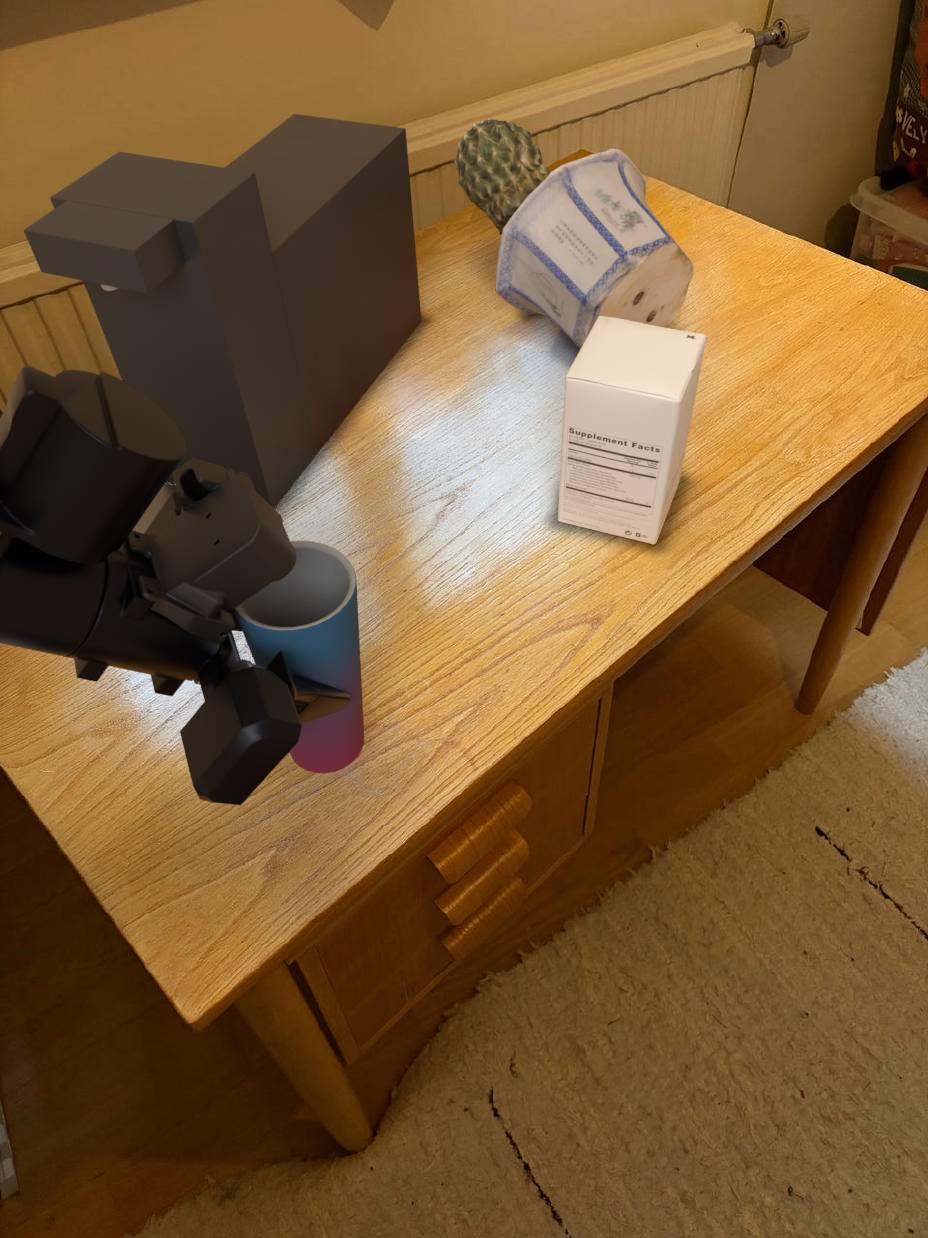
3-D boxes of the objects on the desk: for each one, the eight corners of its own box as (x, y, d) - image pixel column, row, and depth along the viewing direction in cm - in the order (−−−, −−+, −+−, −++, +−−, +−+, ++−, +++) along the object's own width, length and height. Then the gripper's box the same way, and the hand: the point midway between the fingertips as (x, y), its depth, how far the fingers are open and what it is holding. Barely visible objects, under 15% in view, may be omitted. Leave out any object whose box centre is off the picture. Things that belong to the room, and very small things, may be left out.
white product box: (585, 458, 81) (598, 310, 70) (681, 480, 79) (710, 331, 67) (553, 522, 76) (561, 374, 64) (655, 548, 73) (682, 398, 62)
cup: (328, 804, 55) (293, 650, 44) (253, 749, 58) (202, 591, 47) (398, 733, 59) (382, 574, 48) (324, 685, 62) (292, 524, 50)
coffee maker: (246, 544, 75) (153, 254, 56) (132, 511, 79) (5, 226, 59) (421, 321, 97) (399, 54, 77) (326, 302, 100) (281, 42, 80)
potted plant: (743, 207, 81) (553, 35, 91) (589, 276, 76) (406, 86, 86) (689, 345, 97) (532, 185, 107) (558, 410, 91) (406, 235, 102)
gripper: (206, 621, 33) (476, 694, 44) (130, 365, 45) (361, 473, 56) (70, 796, 38) (348, 823, 49) (32, 521, 49) (265, 594, 60)
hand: (330, 664), depth 53 cm, fingers closed on cup, 6 cm apart
